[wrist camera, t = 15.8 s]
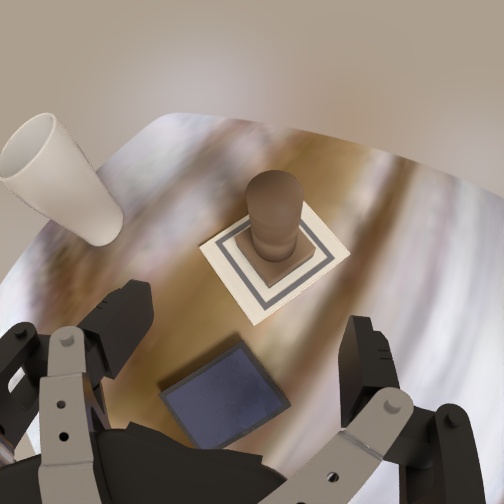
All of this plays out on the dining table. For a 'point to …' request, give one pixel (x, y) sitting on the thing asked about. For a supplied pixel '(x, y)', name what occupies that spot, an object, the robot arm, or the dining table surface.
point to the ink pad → (224, 399)
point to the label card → (249, 282)
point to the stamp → (274, 227)
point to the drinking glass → (59, 180)
